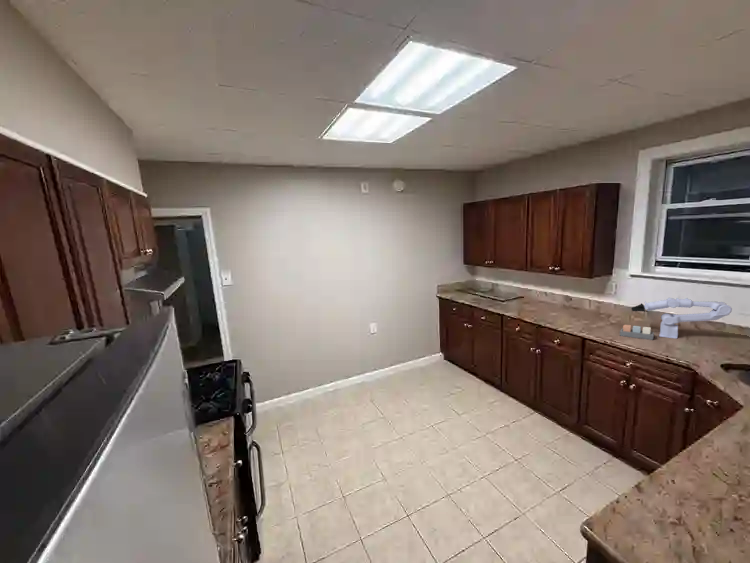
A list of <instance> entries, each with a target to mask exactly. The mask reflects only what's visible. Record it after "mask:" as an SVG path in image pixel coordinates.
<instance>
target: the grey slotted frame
mask: <svg viewBox="0 0 750 563" xmlns="http://www.w3.org/2000/svg"><path fill="white" fill-rule="evenodd" d="M642 332H643V329H641V332H640V333H636V332H633V328H631V332H627V331H623V327H622V328H621V329H620V330H619V337H625V338H634V339H640V340H650V341H653V340H654V337H655V331H651V333H650V334H644V333H642Z"/></svg>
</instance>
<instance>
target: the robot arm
mask: <svg viewBox="0 0 750 563" xmlns="http://www.w3.org/2000/svg"><path fill="white" fill-rule="evenodd" d="M692 307H703V308H710V309H712V310H711V311H710V312H702V313H701V312H700V313H699V312H698V313H687V314H686V313H685V314H684V313H683V314H676V313H675V314H674V313H668V312H665V313H663V314H661V315H660V319H661V321H660V329H659V334H658V337H661V338H668V339H669V338H670V339H678V336H679V325H678V323H684V322H685V323H688V322H703V321H704V322H705V321H717V320H719V319H721V318H723V317H726V316H730V314H731V313H732V311H733V308H732V306H730V305H728V303H726V302H724V301H715V300H714V301H713V300H712V301H709V300H708V301H705V300H703V301H702V300H701V301H697V300H695V301H694V300H692V299H690V298H688V297H686V298H678V297H676V298H673V297H668V298H666V299H660V300H655V301H650V302H647V301H646V300H645V301H644V304H643V303H640V304H638V305H636V306H632V307H631V311H632V312H643V313H645V312H646V311H647V312H650V311H655V310H662V309H663V310H664V309H665V308H666V309H667V308H673V309H676V308H686V309H687V308H689V309H690V308H692Z"/></svg>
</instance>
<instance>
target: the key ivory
mask: <svg viewBox="0 0 750 563" xmlns="http://www.w3.org/2000/svg"><path fill="white" fill-rule="evenodd" d="M651 328H652V327H649V326H648V327H647V326H642V331H643V332H642V333H644V334H650V333H651V332H652V329H651Z"/></svg>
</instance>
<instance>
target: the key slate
mask: <svg viewBox="0 0 750 563" xmlns="http://www.w3.org/2000/svg"><path fill="white" fill-rule="evenodd" d="M632 329H633V332H636V333H640V332H641V330H642V326H640V325H633V326H632Z"/></svg>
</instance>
